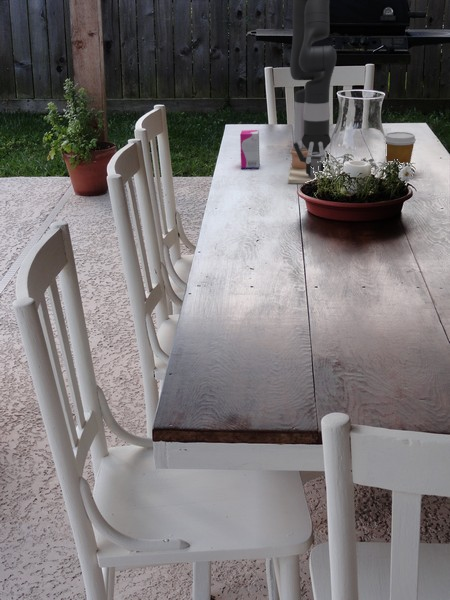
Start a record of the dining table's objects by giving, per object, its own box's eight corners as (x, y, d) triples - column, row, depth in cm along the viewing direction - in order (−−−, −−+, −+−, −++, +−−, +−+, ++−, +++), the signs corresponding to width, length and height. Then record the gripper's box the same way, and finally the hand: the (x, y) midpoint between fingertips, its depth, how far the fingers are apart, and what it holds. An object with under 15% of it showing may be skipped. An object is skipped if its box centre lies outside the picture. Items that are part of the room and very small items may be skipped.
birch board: (291, 162, 259) (291, 141, 256) (322, 162, 258) (322, 141, 255) (288, 183, 237) (288, 160, 234) (322, 183, 236) (322, 160, 233)
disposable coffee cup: (414, 170, 247) (417, 132, 242) (412, 178, 239) (415, 139, 234) (383, 169, 250) (385, 131, 245) (380, 177, 241) (382, 138, 236)
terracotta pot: (290, 164, 253) (290, 147, 251) (309, 164, 253) (309, 147, 250) (289, 169, 248) (290, 151, 245) (309, 169, 247) (309, 151, 245)
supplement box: (259, 164, 259) (259, 129, 254) (258, 169, 254) (258, 133, 249) (242, 164, 260) (241, 129, 255) (240, 169, 254) (240, 133, 250)
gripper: (340, 114, 234) (338, 172, 241) (292, 115, 236) (292, 172, 243) (341, 119, 227) (339, 178, 234) (291, 120, 229) (291, 178, 236)
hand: (315, 175), depth 238 cm, fingers closed on birch board, 3 cm apart
